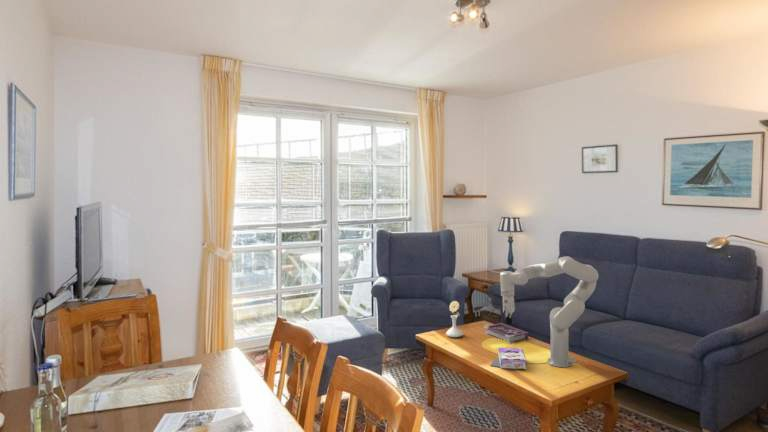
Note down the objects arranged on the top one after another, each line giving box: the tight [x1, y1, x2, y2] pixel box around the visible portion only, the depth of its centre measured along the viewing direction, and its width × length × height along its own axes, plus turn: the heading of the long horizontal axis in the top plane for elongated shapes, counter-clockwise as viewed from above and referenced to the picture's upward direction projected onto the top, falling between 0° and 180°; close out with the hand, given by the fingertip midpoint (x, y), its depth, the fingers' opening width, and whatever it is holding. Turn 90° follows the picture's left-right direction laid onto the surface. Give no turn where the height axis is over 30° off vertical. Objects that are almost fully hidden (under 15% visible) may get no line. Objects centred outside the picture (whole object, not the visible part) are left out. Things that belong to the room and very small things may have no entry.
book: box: [483, 322, 529, 344], centre depth 299 cm, size 25×16×5 cm, turn 27°
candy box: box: [497, 347, 527, 370], centre depth 251 cm, size 14×6×16 cm
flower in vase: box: [445, 300, 464, 338], centre depth 301 cm, size 13×11×25 cm
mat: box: [489, 357, 517, 371], centre depth 251 cm, size 14×12×1 cm
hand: (509, 324), depth 256 cm, fingers closed
